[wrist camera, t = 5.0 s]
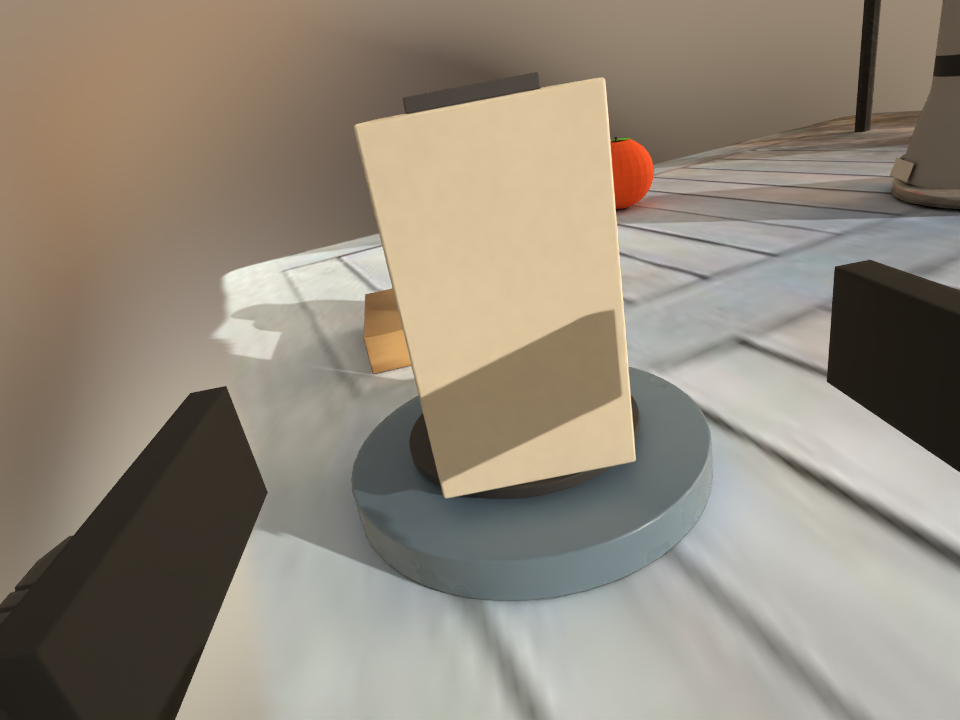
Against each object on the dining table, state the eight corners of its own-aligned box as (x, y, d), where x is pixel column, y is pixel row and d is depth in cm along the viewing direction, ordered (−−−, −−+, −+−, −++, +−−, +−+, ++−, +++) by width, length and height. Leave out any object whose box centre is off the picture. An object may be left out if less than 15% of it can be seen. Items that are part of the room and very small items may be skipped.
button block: (536, 287, 43) (529, 232, 41) (576, 327, 35) (568, 261, 33) (372, 323, 42) (358, 269, 40) (373, 374, 34) (355, 308, 32)
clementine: (607, 200, 68) (602, 134, 65) (668, 196, 64) (665, 126, 61) (577, 217, 62) (569, 146, 59) (641, 214, 58) (636, 138, 55)
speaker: (678, 469, 18) (658, 46, 13) (408, 522, 18) (295, 116, 13) (601, 358, 26) (572, 69, 21) (413, 395, 26) (343, 113, 21)
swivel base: (624, 364, 29) (622, 336, 29) (799, 534, 17) (801, 492, 17) (363, 426, 28) (355, 398, 27) (357, 654, 16) (343, 613, 16)
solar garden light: (792, 140, 83) (801, -120, 72) (843, 124, 89) (860, -121, 77) (885, 136, 73) (913, -167, 61) (937, 119, 78) (972, -165, 67)
